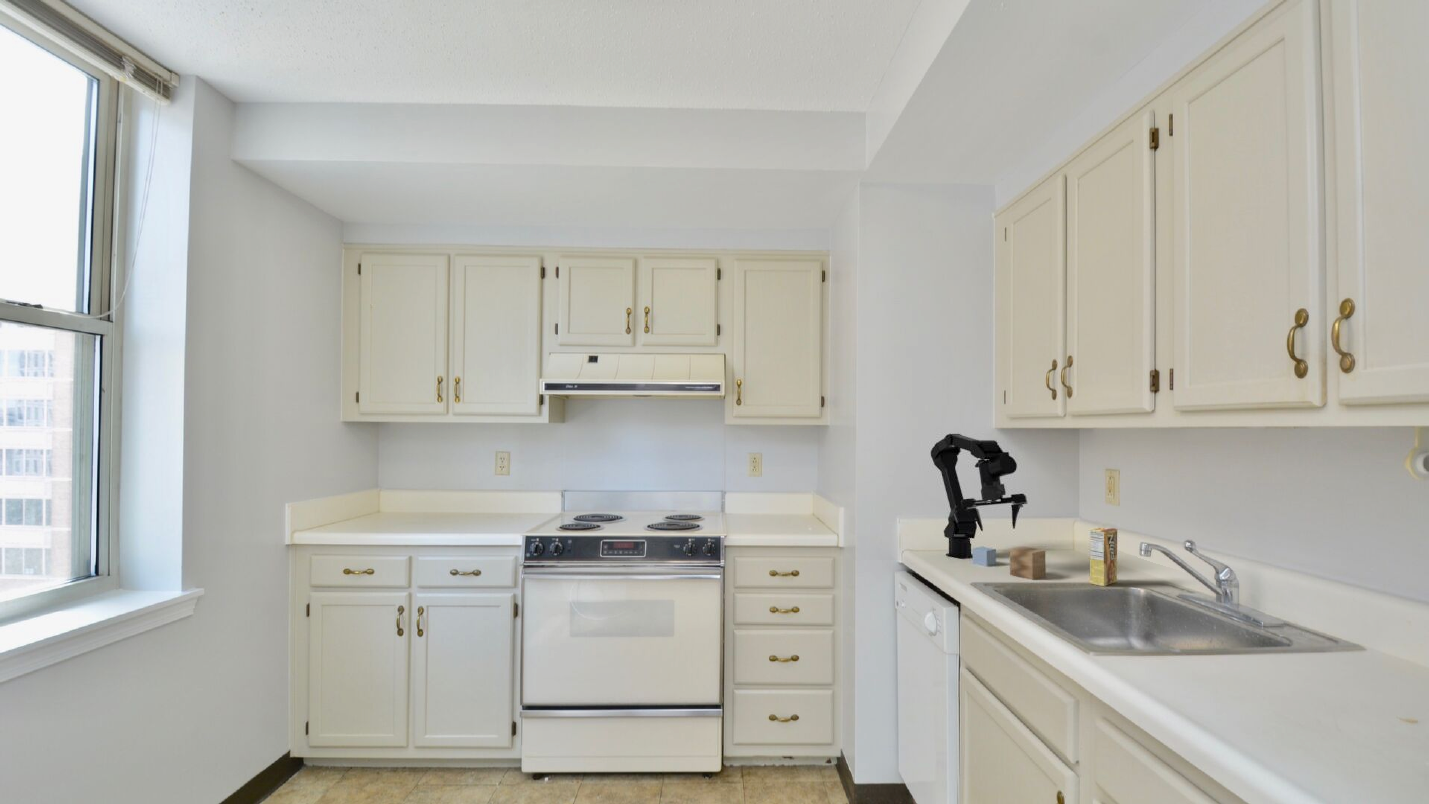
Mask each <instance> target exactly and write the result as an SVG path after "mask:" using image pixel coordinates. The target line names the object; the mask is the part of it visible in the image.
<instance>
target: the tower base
mask: <svg viewBox="0 0 1429 804" xmlns="http://www.w3.org/2000/svg"><path fill="white" fill-rule="evenodd" d="M1046 567H1047V565H1046V563H1045V564H1043V565H1039V566H1034V567H1030V566H1025V565H1020V564H1015V563H1010V562H1009V575H1010V576H1011V575H1012V576H1011V577H1015V578H1021V579H1025V578H1026V579H1025V580H1030V579H1031V581H1034V579H1035V580H1038V578H1039V579H1043V578H1046V571H1047V570H1046Z"/></svg>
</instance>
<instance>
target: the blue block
mask: <svg viewBox="0 0 1429 804" xmlns="http://www.w3.org/2000/svg"><path fill="white" fill-rule="evenodd" d="M972 555H973V556H972V564H973V565H977V566H982V567H991V566H996V564H997V549H996V548H991V547H986V546H978V547H972Z"/></svg>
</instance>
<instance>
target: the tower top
mask: <svg viewBox="0 0 1429 804" xmlns="http://www.w3.org/2000/svg"><path fill="white" fill-rule="evenodd" d="M1010 563H1015V564H1020V565H1025V566H1030V567H1034V566H1039V565H1043V564H1046V550H1045V549H1039V548H1033V547H1028V546H1027V547H1026V546H1021V547H1020V546H1018V547H1015V548H1014V547H1013V548H1010V549H1009V564H1010Z"/></svg>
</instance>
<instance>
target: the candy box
mask: <svg viewBox="0 0 1429 804" xmlns="http://www.w3.org/2000/svg"><path fill="white" fill-rule="evenodd" d="M1089 532H1090V533H1089V536H1090V537H1089V539H1090V540H1089V541H1090V542H1089V547H1090V548H1089V585H1095V586H1100V587H1106V586H1108V585H1111V584H1114V583H1117V582H1118V570H1117V569H1118V529H1117V528H1113V527H1105V526H1102V527H1098V528H1093V529H1090V530H1089Z"/></svg>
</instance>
